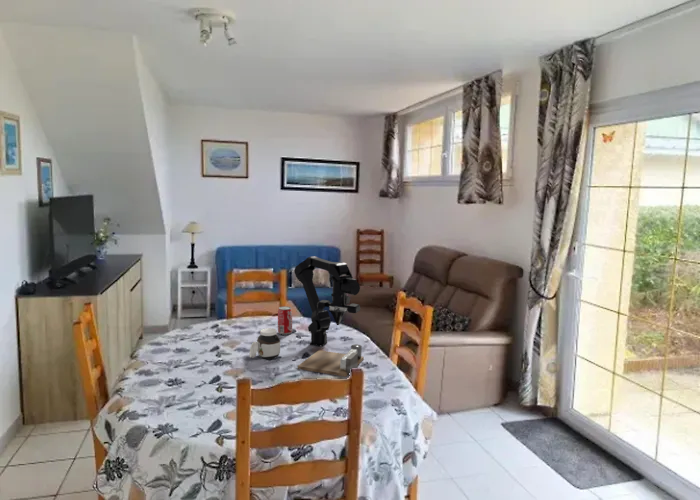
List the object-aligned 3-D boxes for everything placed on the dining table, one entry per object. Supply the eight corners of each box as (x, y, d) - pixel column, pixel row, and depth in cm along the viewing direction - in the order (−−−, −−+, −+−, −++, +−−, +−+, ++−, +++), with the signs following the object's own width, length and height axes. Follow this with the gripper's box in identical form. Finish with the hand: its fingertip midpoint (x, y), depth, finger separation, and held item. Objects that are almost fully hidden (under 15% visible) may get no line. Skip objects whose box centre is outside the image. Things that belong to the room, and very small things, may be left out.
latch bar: (353, 354, 214) (353, 343, 214) (362, 355, 213) (362, 345, 212) (338, 369, 197) (338, 357, 197) (348, 370, 196) (348, 358, 195)
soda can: (289, 335, 244) (289, 310, 242) (275, 334, 245) (275, 309, 244) (294, 331, 251) (294, 306, 249) (280, 330, 252) (280, 305, 251)
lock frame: (297, 368, 201) (297, 352, 200) (319, 352, 220) (319, 337, 220) (348, 377, 193) (349, 360, 192) (366, 359, 213) (366, 344, 212)
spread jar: (282, 357, 214) (283, 331, 212) (261, 364, 206) (261, 336, 204) (265, 350, 222) (265, 325, 220) (244, 356, 214) (244, 330, 212)
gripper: (365, 289, 224) (363, 323, 226) (327, 285, 231) (326, 317, 233) (356, 294, 214) (355, 329, 216) (316, 290, 221) (316, 324, 223)
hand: (338, 325), depth 222 cm, fingers closed
